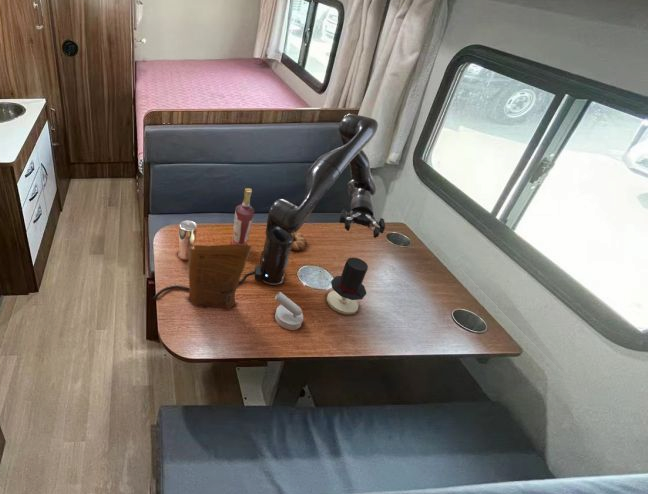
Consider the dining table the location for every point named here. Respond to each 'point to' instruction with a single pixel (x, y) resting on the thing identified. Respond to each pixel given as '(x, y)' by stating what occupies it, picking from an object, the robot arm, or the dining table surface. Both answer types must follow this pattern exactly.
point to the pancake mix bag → (216, 274)
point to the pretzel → (298, 241)
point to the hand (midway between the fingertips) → (361, 232)
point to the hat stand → (342, 303)
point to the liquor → (243, 220)
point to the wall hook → (288, 313)
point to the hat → (351, 280)
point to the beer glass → (186, 238)
